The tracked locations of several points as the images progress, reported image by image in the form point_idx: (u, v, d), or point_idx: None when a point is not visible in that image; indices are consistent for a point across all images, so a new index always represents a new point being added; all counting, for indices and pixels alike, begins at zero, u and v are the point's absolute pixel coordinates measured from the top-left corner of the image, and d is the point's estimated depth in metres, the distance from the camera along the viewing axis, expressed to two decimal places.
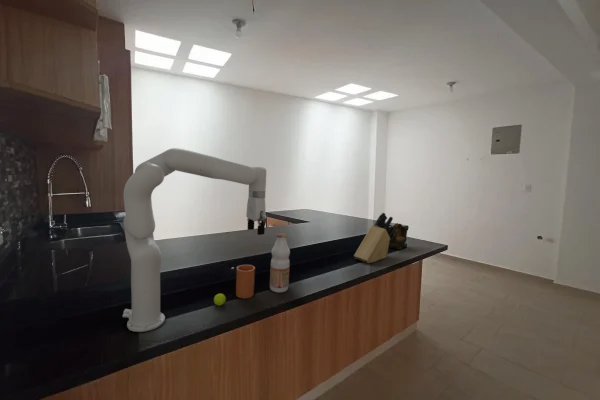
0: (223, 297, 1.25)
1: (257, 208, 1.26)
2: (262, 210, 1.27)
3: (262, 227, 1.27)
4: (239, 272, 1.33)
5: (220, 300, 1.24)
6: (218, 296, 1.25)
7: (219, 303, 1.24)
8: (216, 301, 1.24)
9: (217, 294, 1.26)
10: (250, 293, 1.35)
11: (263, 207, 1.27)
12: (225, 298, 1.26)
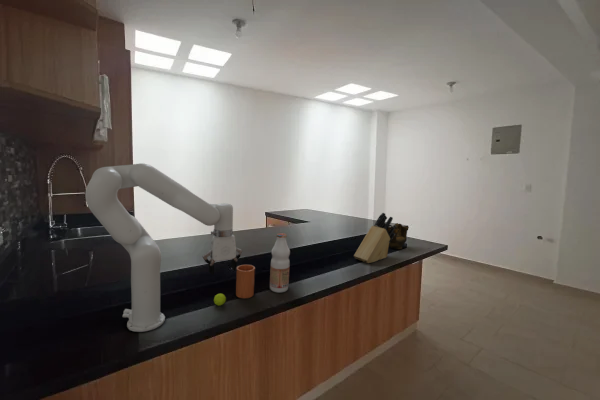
0: (223, 297, 1.25)
1: (235, 245, 1.25)
2: None
3: None
4: (239, 272, 1.33)
5: (220, 300, 1.24)
6: (218, 296, 1.25)
7: (219, 303, 1.24)
8: (216, 301, 1.24)
9: (217, 294, 1.26)
10: (250, 293, 1.35)
11: None
12: (225, 298, 1.26)
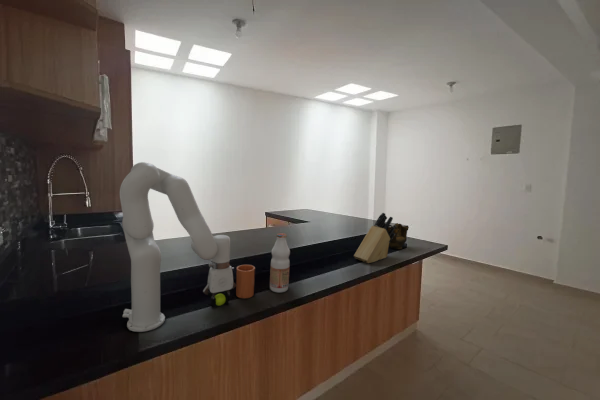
0: (223, 297, 1.25)
1: (232, 275, 1.26)
2: None
3: None
4: (239, 272, 1.33)
5: (220, 300, 1.24)
6: (218, 296, 1.25)
7: (219, 303, 1.24)
8: (216, 301, 1.24)
9: (217, 294, 1.26)
10: (250, 293, 1.35)
11: None
12: (225, 298, 1.26)
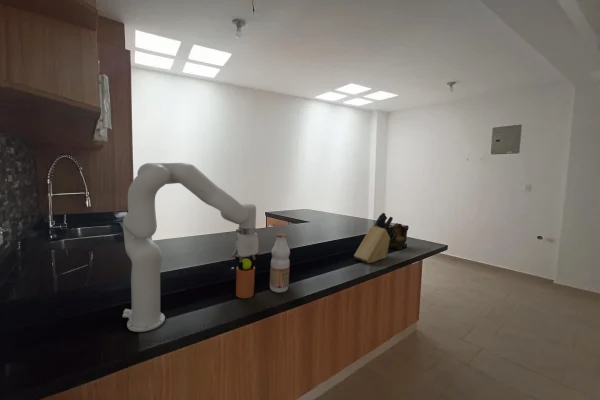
0: (249, 261, 1.35)
1: None
2: None
3: None
4: (239, 272, 1.33)
5: (247, 264, 1.34)
6: (244, 260, 1.34)
7: (246, 267, 1.34)
8: (243, 265, 1.34)
9: (244, 259, 1.36)
10: (250, 293, 1.35)
11: None
12: (251, 263, 1.36)
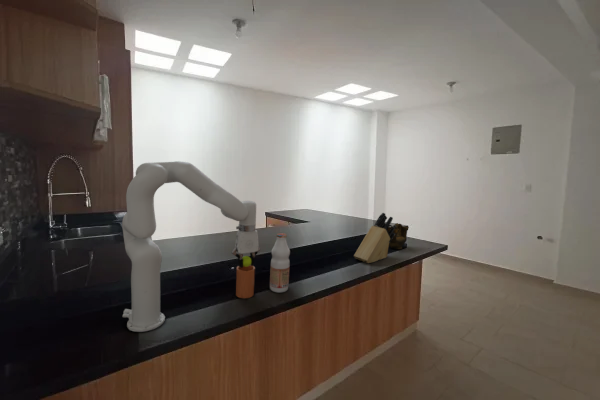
0: (249, 259, 1.35)
1: None
2: None
3: None
4: (239, 272, 1.33)
5: (247, 261, 1.34)
6: (244, 258, 1.34)
7: (246, 264, 1.34)
8: (243, 262, 1.34)
9: (244, 256, 1.35)
10: (250, 293, 1.35)
11: None
12: (251, 260, 1.36)
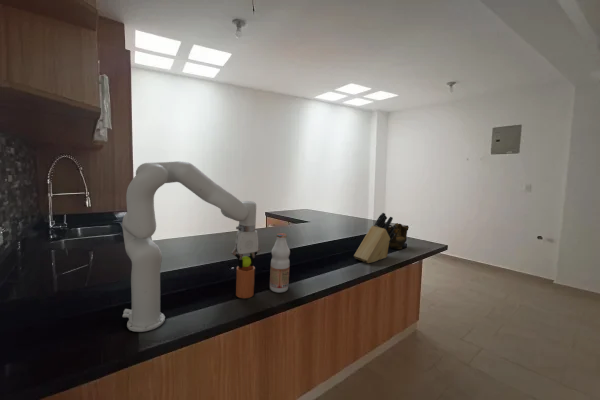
0: (249, 259, 1.35)
1: None
2: None
3: None
4: (239, 272, 1.33)
5: (246, 261, 1.33)
6: (244, 258, 1.34)
7: (245, 264, 1.34)
8: (243, 262, 1.33)
9: None
10: (250, 293, 1.35)
11: None
12: None
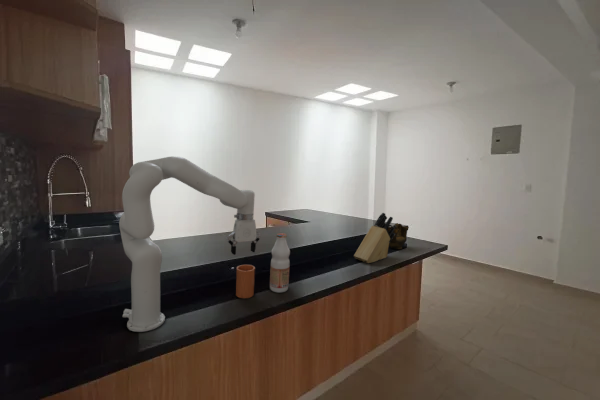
0: None
1: (255, 228, 1.36)
2: None
3: None
4: (239, 272, 1.33)
5: None
6: None
7: None
8: None
9: None
10: (250, 293, 1.35)
11: None
12: None
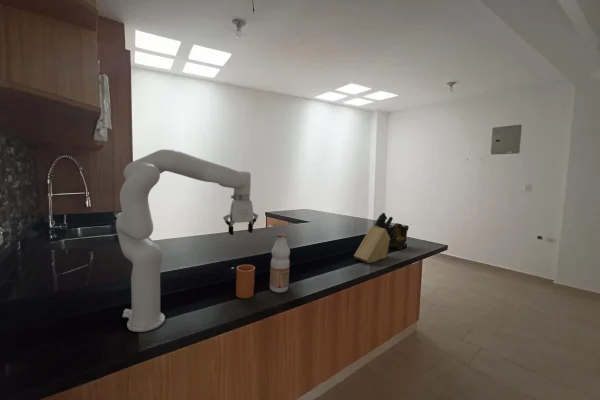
0: None
1: (252, 209, 1.38)
2: None
3: None
4: (239, 272, 1.33)
5: None
6: None
7: None
8: None
9: None
10: (250, 293, 1.35)
11: None
12: None
